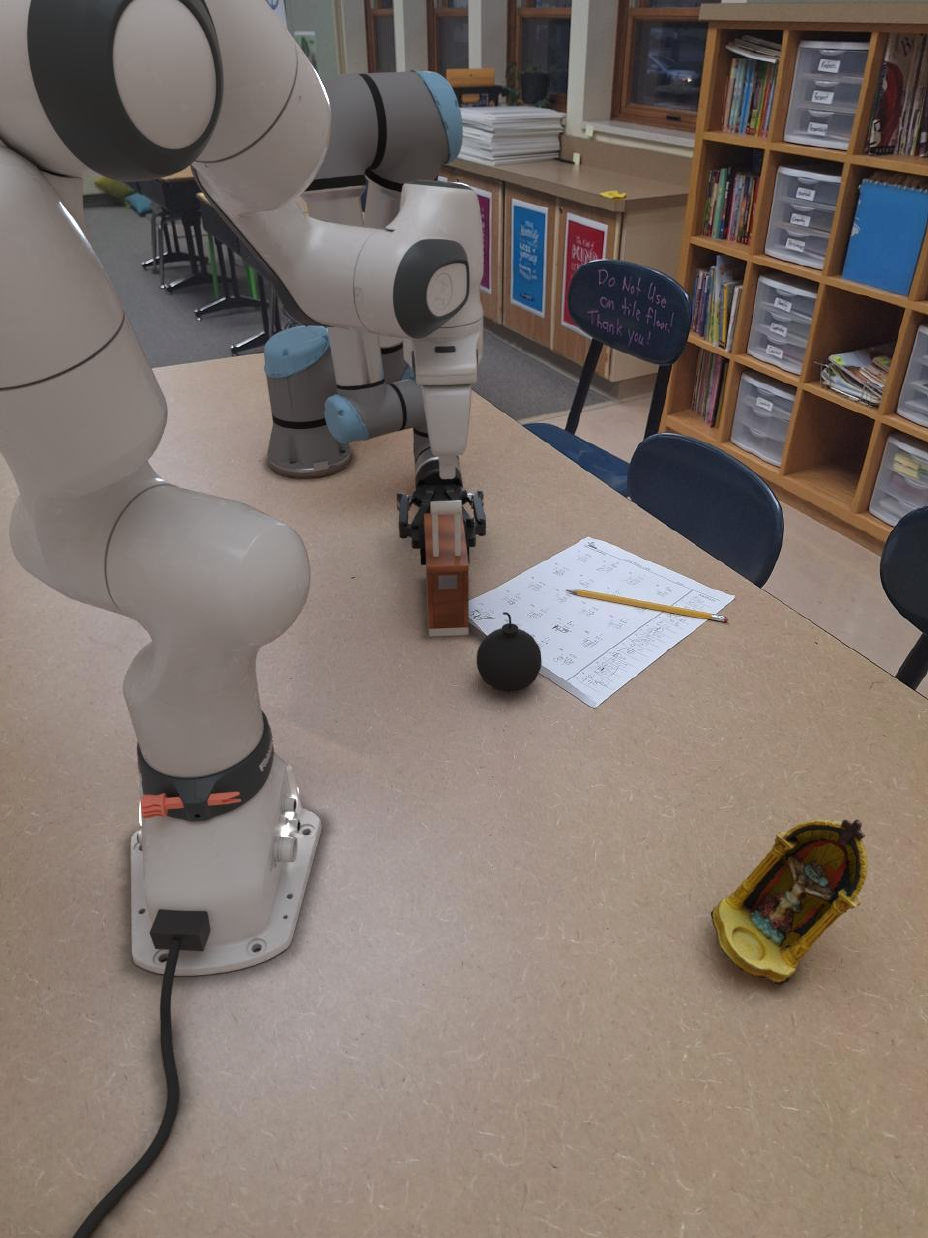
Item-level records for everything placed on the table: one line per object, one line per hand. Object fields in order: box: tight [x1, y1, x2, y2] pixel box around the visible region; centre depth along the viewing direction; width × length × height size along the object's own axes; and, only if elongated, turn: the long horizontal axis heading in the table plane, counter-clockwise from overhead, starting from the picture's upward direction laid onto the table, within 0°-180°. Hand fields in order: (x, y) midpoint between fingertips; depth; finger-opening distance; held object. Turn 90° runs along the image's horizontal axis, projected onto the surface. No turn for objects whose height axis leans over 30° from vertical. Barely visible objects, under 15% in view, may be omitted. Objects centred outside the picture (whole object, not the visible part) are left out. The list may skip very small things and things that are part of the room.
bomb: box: [476, 611, 543, 694], centre depth 103 cm, size 8×8×12 cm
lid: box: [424, 501, 470, 573], centre depth 112 cm, size 14×5×9 cm, turn 4°
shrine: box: [710, 818, 868, 986], centre depth 72 cm, size 12×8×15 cm
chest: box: [424, 526, 470, 637], centre depth 117 cm, size 13×5×10 cm, turn 4°
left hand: (445, 458), depth 102 cm, fingers open, 8 cm apart
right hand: (444, 555), depth 118 cm, fingers closed on chest, 5 cm apart
